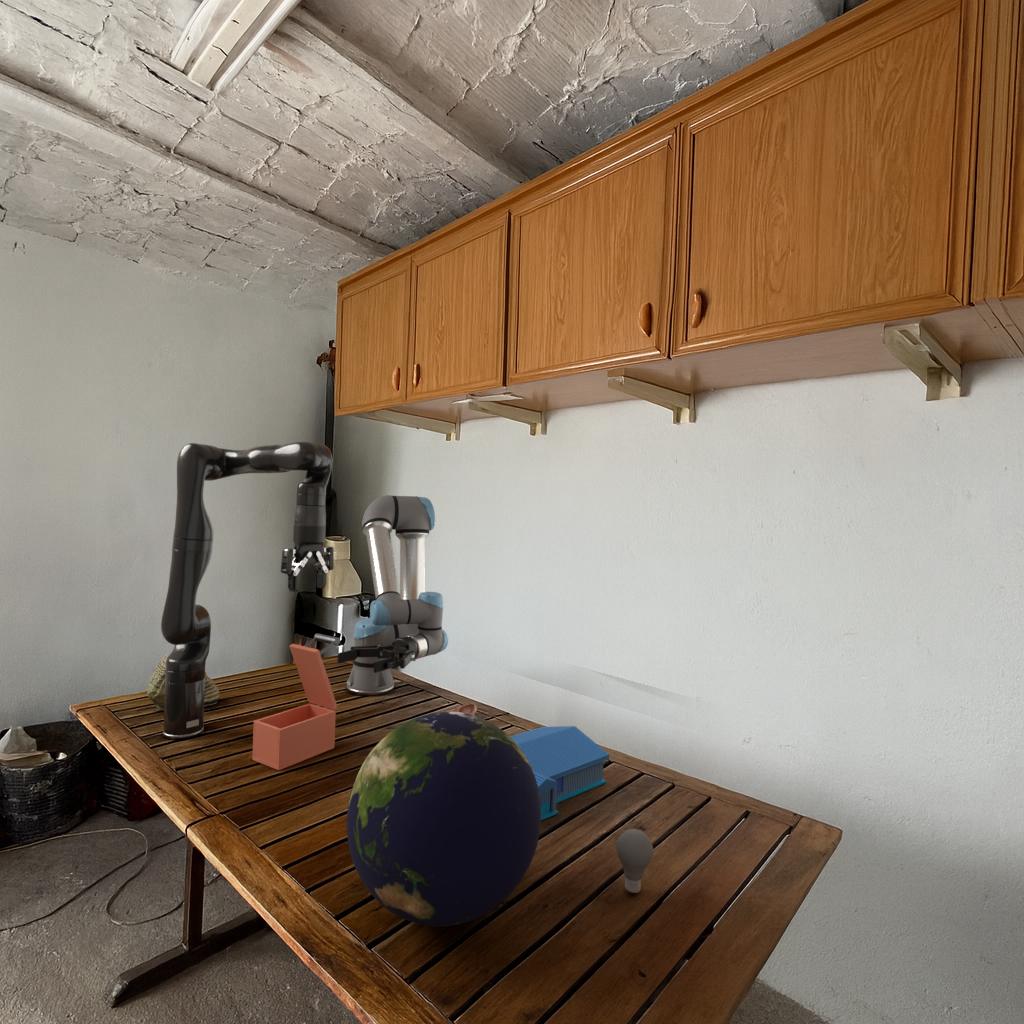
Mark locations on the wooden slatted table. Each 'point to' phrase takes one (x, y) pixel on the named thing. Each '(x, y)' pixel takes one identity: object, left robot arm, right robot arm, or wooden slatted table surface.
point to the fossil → (158, 687)
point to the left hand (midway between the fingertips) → (307, 589)
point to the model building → (561, 763)
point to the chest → (293, 736)
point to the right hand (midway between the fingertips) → (356, 662)
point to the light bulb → (634, 857)
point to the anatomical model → (465, 709)
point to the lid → (315, 671)
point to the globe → (444, 819)
